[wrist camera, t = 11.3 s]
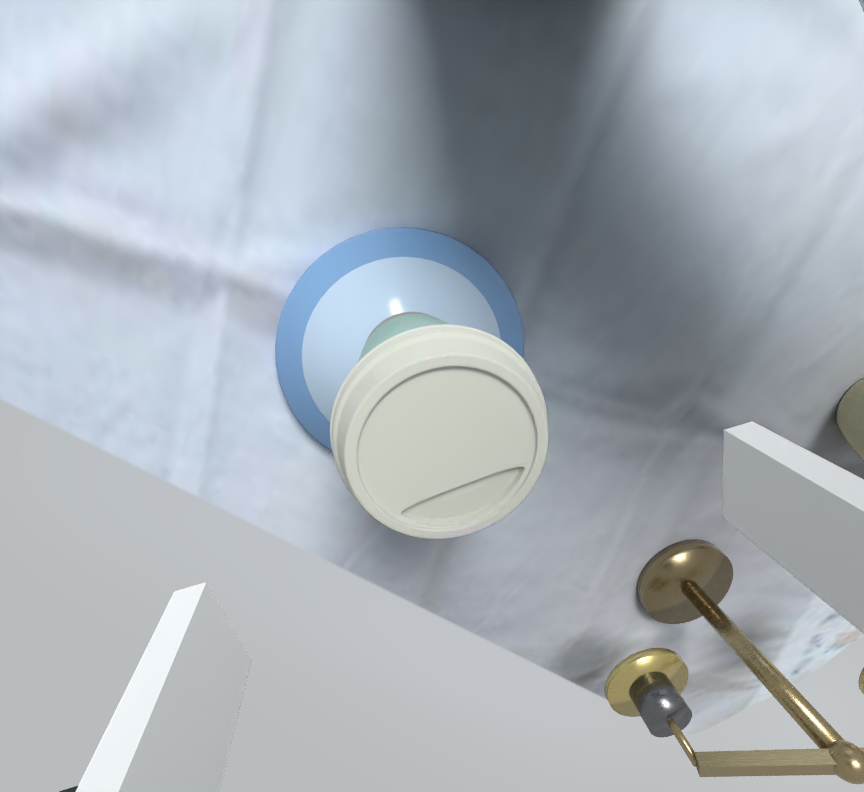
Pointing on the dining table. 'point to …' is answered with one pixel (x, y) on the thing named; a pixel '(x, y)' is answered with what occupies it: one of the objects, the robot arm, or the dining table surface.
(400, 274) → the dish
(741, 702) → the dining table surface
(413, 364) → the coffee cup
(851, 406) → the flower pot
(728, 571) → the balance
